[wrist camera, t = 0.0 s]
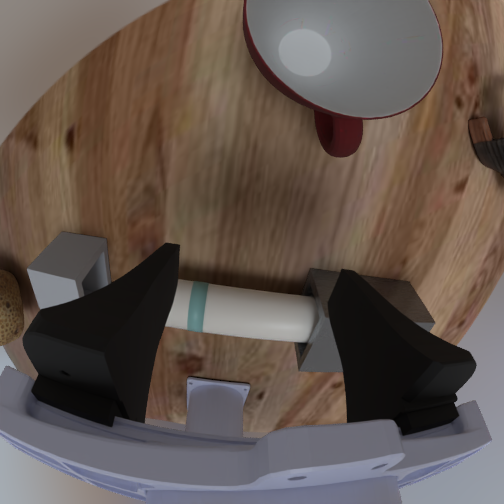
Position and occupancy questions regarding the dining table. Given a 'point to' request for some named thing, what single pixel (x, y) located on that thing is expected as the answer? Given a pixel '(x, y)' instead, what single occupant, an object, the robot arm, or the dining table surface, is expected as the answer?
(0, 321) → the natural sponge
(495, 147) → the brown ring clamp
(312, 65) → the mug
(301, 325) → the tube
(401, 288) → the grey stone block
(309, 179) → the dining table surface
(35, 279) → the socket
